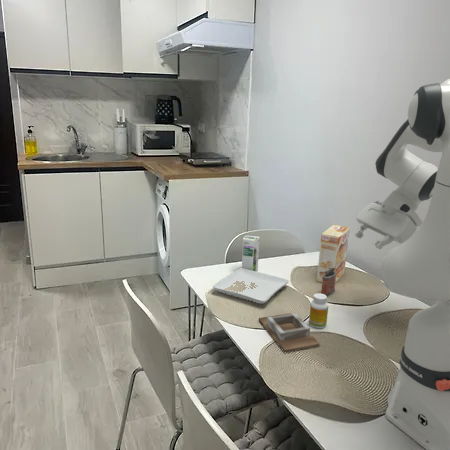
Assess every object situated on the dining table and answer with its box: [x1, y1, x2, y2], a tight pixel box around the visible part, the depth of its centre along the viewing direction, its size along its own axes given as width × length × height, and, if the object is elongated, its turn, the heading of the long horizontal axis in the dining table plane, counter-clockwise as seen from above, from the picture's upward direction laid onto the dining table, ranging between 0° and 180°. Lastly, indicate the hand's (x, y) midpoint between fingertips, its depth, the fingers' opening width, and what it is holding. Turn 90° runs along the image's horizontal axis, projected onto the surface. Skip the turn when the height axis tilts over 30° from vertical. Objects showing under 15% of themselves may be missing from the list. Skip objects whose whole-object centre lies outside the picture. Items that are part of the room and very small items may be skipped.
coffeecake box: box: [316, 224, 351, 284], centre depth 162 cm, size 15×7×20 cm, turn 148°
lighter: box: [320, 266, 337, 298], centre depth 150 cm, size 8×3×10 cm, turn 141°
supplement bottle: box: [308, 292, 329, 329], centre depth 129 cm, size 5×5×10 cm
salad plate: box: [212, 267, 289, 304], centre depth 152 cm, size 21×21×3 cm
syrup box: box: [241, 234, 261, 272], centre depth 167 cm, size 6×6×14 cm
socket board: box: [258, 312, 320, 353], centre depth 125 cm, size 18×11×4 cm, turn 19°
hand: (366, 241), depth 128 cm, fingers open, 8 cm apart
